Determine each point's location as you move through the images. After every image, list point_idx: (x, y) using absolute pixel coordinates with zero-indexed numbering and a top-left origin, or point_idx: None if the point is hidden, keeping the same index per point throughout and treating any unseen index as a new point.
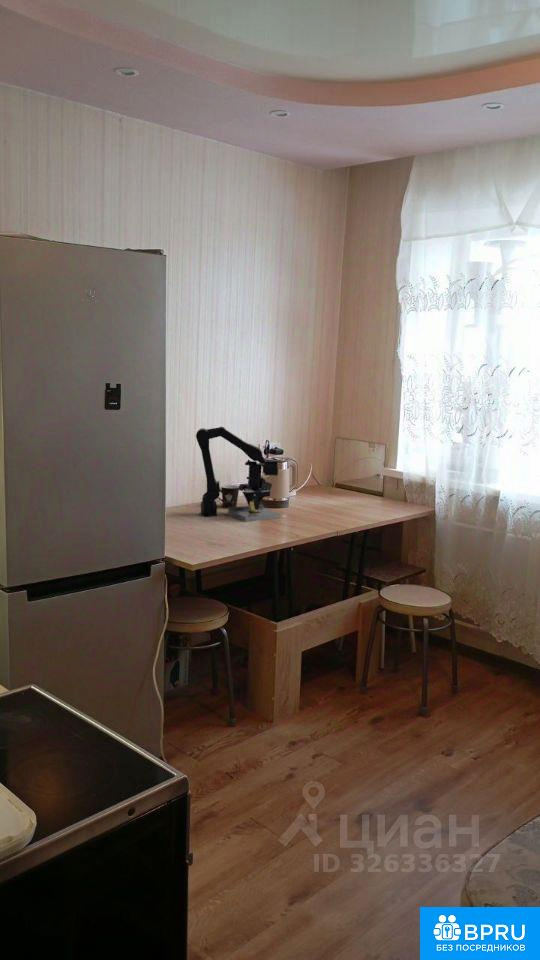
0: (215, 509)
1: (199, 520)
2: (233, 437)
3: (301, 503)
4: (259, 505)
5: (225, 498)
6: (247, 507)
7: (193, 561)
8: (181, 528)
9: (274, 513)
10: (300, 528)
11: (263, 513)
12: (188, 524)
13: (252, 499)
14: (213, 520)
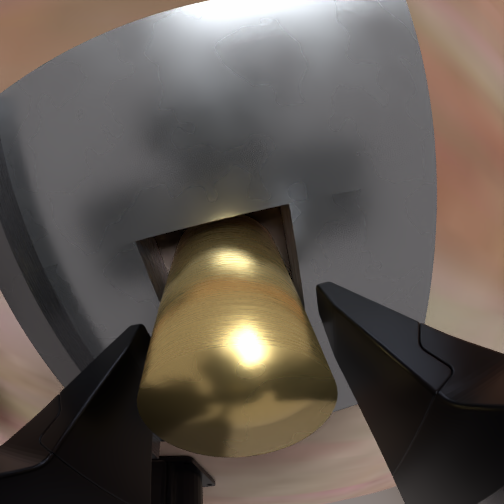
0: (173, 486)
1: (277, 488)
2: None
3: None
4: (383, 307)
5: None
6: (57, 323)
7: None
8: (361, 491)
9: (385, 42)
10: None
11: (356, 189)
12: (324, 493)
13: (92, 415)
14: (295, 466)
